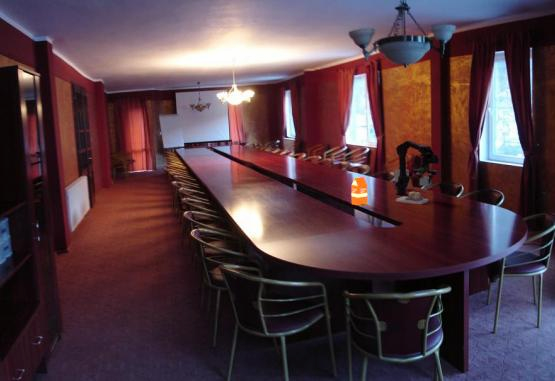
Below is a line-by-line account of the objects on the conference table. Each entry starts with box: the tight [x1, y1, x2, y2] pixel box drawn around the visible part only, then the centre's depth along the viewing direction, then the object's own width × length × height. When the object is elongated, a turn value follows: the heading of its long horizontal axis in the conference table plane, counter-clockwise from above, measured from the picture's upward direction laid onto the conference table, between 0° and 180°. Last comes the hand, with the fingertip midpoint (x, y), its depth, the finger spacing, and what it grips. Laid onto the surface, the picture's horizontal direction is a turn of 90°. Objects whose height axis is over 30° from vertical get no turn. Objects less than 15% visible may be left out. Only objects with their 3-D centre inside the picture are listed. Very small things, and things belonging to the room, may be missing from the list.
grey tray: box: [395, 195, 429, 205], centre depth 357 cm, size 20×12×3 cm, turn 47°
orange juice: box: [350, 176, 368, 206], centre depth 354 cm, size 8×9×20 cm
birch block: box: [408, 191, 421, 199], centre depth 355 cm, size 6×6×5 cm
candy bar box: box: [393, 169, 410, 190], centre depth 408 cm, size 11×5×16 cm, turn 62°
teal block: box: [419, 176, 432, 187], centre depth 362 cm, size 6×6×5 cm
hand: (425, 183), depth 362 cm, fingers closed on teal block, 6 cm apart
